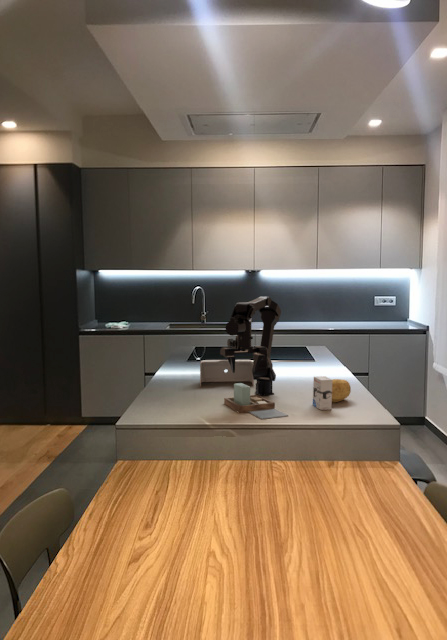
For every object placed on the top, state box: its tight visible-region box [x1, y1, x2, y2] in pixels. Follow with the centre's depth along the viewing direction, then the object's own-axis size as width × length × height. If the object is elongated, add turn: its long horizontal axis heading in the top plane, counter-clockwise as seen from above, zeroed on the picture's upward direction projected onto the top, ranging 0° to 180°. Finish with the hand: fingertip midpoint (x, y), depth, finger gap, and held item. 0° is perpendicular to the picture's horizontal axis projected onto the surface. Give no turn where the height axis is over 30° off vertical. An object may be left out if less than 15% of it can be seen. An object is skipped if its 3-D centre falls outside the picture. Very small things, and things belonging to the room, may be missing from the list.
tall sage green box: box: [233, 382, 251, 406], centre depth 202 cm, size 4×8×9 cm, turn 23°
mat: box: [248, 408, 289, 420], centre depth 192 cm, size 11×11×1 cm
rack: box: [223, 394, 276, 414], centre depth 204 cm, size 15×15×2 cm
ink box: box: [312, 375, 333, 411], centre depth 201 cm, size 8×5×12 cm, turn 10°
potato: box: [332, 378, 352, 403], centre depth 210 cm, size 10×14×10 cm
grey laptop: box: [199, 359, 255, 387], centre depth 244 cm, size 25×16×12 cm, turn 92°
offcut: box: [250, 397, 262, 403], centre depth 207 cm, size 3×5×2 cm, turn 31°
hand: (243, 372), depth 205 cm, fingers open, 9 cm apart
